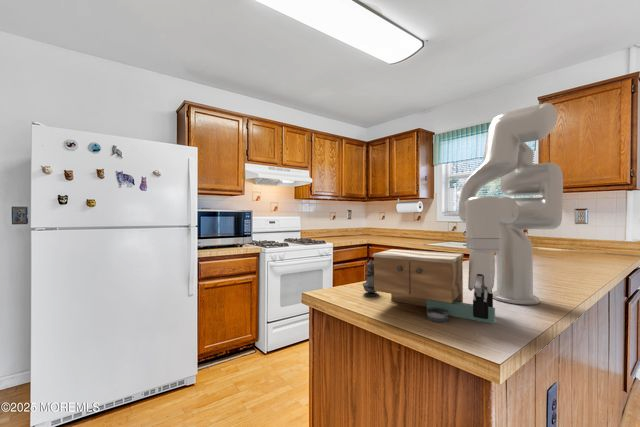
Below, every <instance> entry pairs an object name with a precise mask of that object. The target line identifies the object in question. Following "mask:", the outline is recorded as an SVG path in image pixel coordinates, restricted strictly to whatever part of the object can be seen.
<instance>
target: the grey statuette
mask: <svg viewBox="0 0 640 427" xmlns="http://www.w3.org/2000/svg"><path fill="white" fill-rule="evenodd" d="M365 274H366V281H365V282H363V283H362V286H363V290H364V291H365V292H364V293H363V294H362V295H363V296H364V297H365V298H378V297H380V294H379V293H378V291H374V261H373V260H372V259H370V260H369V262H367V263H366V272H365Z"/></svg>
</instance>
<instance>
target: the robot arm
mask: <svg viewBox="0 0 640 427" xmlns="http://www.w3.org/2000/svg"><path fill="white" fill-rule="evenodd" d="M557 121H558V113H557V109H556V107H555V105H553V104H552V103H550V102H545V103H539V104H536V105H532V106H531V105H530V106H527V107H523V108H519V109H514V110H511V111H505V112H503V113H500V114H498V115H496V116H495V117H493V119H492V120H491V123H490V124H489V126H488V128H487V134H486V141H485V146H484V154H483V160H482V163H481V165H480V166H478V167H477V168H476V169H475V170H474V171H473V172H472V173H471V174H470V175H469V176H468V178H467V179H466V180H465V182H464V183H463V185H462V187H461V192H460V195H459V196H460V197H459V202H458V209H457V210H458V216H459V219H460V220H461V221H462V223H464V224H465V242H466V243H465V245H466V246H465V247H466V248H465V249H466V250H465V251H468V252H469V257H468V280H467V281H468V285H467V286H468V288H467V289H468V290H469V291H472V290H473V298H472V304H473V316H474V317H476V318H482V319H488V307H493V308H494V300H497V301H500V302H503V303H509V304H514V305H523V306H525V305H528V306H529V305H537V304H540V303H541V302H540V297H538V296H537V295H534V270H533V269H534V266H533V265H534V264H533V262H534V261H533V259H534V258H533V255H534V253H533V242H532V241H531V239H530V238H529V237H528V235H527V234H526V233H525V232H524V231H523V230H555V229H557V228H559V227H560V226H561V223H562V221H563V220H562V219H563V202H564V201H563V200H564V199H563V198H564V197H563V196H564V177H563V176H564V175H563V171H562V168H561V167H560V166H559V164H557V163H554V162H541V163H534V151H533V149H532V148H531V146H529V144H527V143H530V142H535V141H541V140H544V139H545V138H547V136H549V134H550V133H551V132H552V131H553V129H555V127H556V125H557ZM498 179H500V184H499V186H500V191H501V193H502V194H504V195H506V196H492V195H490V196H489V195H487V196H486V195H482V196H479V195H478V196H477V194H478V192H479V191H480V190H481V189H482V188H483V187H484V186H486V185H488V184H489V183H492V182H494V181H496V180H498ZM536 195H537V196H539V195H540V196H542V197H519V196H536ZM510 196H511V197H510ZM515 196H516V197H515ZM517 196H518V197H519V198H518V197H517ZM512 197H514V198H512ZM495 253H496V254H495ZM495 255H496V258H495ZM495 260H496V261H495ZM495 262H496V263H495ZM495 270H496V271H495ZM495 273H496V274H495ZM495 275H496V276H495ZM495 277H496V290H494V291H493V289H494V286H495Z"/></svg>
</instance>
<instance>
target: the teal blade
mask: <svg viewBox="0 0 640 427" xmlns="http://www.w3.org/2000/svg"><path fill="white" fill-rule="evenodd" d="M428 308H442V309H445V310H447V311H448V317H449V316H450V317H455V318H459V319H460V318H462V319H465V320H466V319H467V320H470V321H471V320H472V321H476V322H483V323H489V324H493V325H494V324H495V323H496V307H494V306H493V307H488V319H482V318H476V317H474V316H473V303H465V302H463V303H461V302H454V301H453V302H452V303H448V302H442V301H435V300H429V299H427V307H426V310H427V309H428Z"/></svg>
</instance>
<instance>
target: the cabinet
mask: <svg viewBox="0 0 640 427" xmlns="http://www.w3.org/2000/svg"><path fill="white" fill-rule="evenodd" d="M464 255H465V254H464V253H460V252H443V251H431V250H430V251H428V250H413V249H411V250H410V249H397V248H396V249H395V248H391V249H387V250H384V251H379V252H374V253H372V258H373V262H374V291H377V293H378V292H379V293H385V294H390V295H391V296H390V302H391V301H392V302H396V303H403V304H409V305H413V306H420V307H424V308H425V307H426V308H427V299H429V300H435V301H442V302H448V303H452V302H453V301H454V302H461V303H464V298H463V297H464V292H463V291H464V288H463V286H464V285H463V284H464V281H463V278H464V276H463V258H464V257H465V256H464Z"/></svg>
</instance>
